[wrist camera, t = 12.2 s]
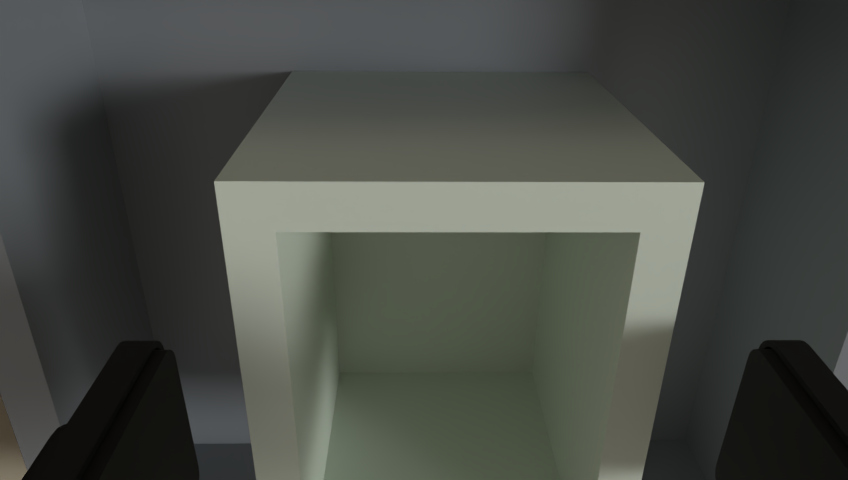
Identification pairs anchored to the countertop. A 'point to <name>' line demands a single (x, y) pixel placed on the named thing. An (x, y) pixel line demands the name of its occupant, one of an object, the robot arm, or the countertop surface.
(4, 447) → the countertop surface
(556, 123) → the sage crate
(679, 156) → the charcoal crate
